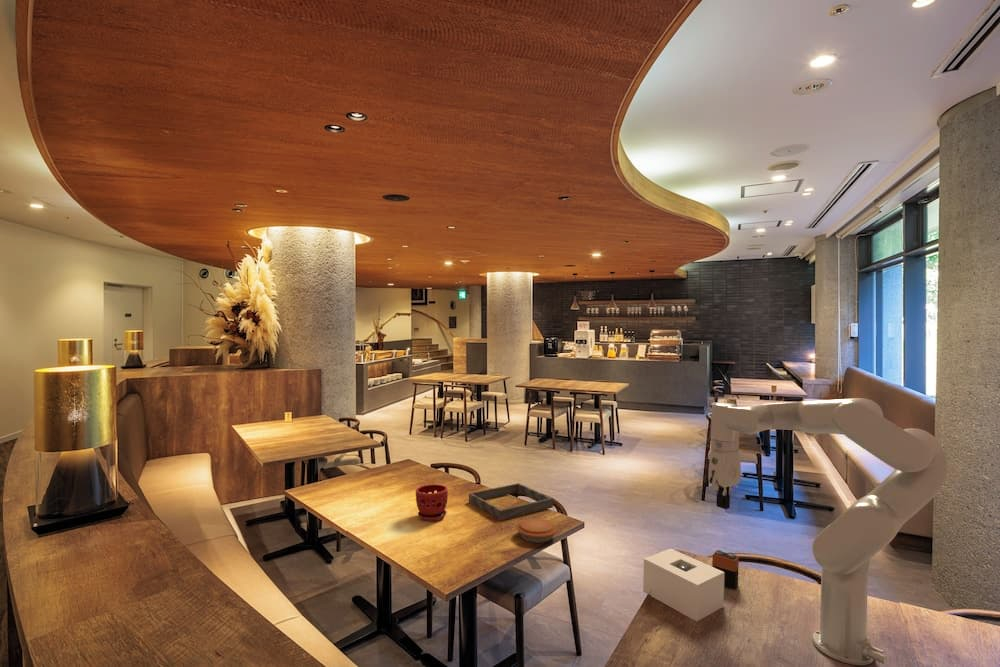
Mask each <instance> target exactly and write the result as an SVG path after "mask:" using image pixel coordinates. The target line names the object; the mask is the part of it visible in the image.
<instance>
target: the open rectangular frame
mask: <svg viewBox="0 0 1000 667" xmlns="http://www.w3.org/2000/svg"><path fill="white" fill-rule="evenodd" d="M516 493H517V494H518V493H519V494H521V495H523V496H525V497H527V498H529V499H531V500H534V501H533V502H529V503H523V504H521V505H520V504H519V505H515V506H512V507H507V508H503V509H501V508H499V507H497V506H495V505H493V504H492V503H490V502H488V501H486V500H489V499H495V498H499V497H505V496H508V495H512V494H516ZM468 503H469V504H471V505H473V506H474V507H476V508H478V509H480V510H482V511H483V512H484V513H487V514H488V515H490V516H492V517H493V518H495V519H497V520H499V521H500V522H501V521H505V520H509V519H513V518H517V517H521V516H526V515H529V514H533V513H537V512H541V511H545V510H549V509H552V508H554V507H553V504H554V498H552V497H550V496H549V495H546V494H544V493H541V492H540V491H537V490H535V489H532V488H531V487H528V486H527V485H526V486H525V485H524V484H521V483H519V482H518V483H513V484H508V485H505V486H499V487H494V488H493V487H492V488H488V489H484V490H479V491H475V492H469V493H468Z"/></svg>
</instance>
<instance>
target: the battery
mask: <svg viewBox="0 0 1000 667" xmlns="http://www.w3.org/2000/svg"><path fill="white" fill-rule="evenodd" d="M739 559H740V558H739V556H738V555H736V554H735V553H733V552H725V551H723V550H720V549H717V550H715V551H714V552H713V554H712V563H711V564H712V565H711V566H712V567H714V568H716V569H718V570H721V571H723V572H724V588H728V589H731V590H735V589H737V587H738V585H739V562H740V561H739Z"/></svg>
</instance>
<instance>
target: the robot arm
mask: <svg viewBox="0 0 1000 667" xmlns="http://www.w3.org/2000/svg"><path fill="white" fill-rule="evenodd" d="M710 410H711V414H710V416H711V419H710V420H711V421H710V422H711V423H710V455H709V461H708V483H709V484H711V488H710V489H711V490H713V491H715V494H716V507H718V508H721V509H724V510H728V509H730V504H731V494H732V488H733V486H735V485H737V484H739V483H740V482H741V480H742V477H741V476H742V475H741V474H742V472H741V470H742V468H741V467H742V466H741V455H740V451H739V445H740V443H739V442H740V441H739V440H740V433H741V434H745V435H754V434H757V433H761V432H763V431H767V430H770V431H771V430H797V431H801V432H804V433H806V434H809V435H813V434H814V435H817V434H818V435H819V434H820V435H822V434H823V435H824V434H842V435H844V436H845V437H846V438H848V439H849V440H850V441H852V442H854V444H856V445H857V446H859V447H861V448H862V449H864V450H865V451H866V452H868V453H869V454H871V456H874V457H875V458H876V459H878V460H880V461H881V462H883V463H884V464H886V465H887V466H889V467H891V468H893V469H894V470H893V471H892V472H891V473H890V474H888V476H887V477H885V478H884V480H882V482H880V483H879V484H878V485H877V486H876V487H875V488H873V489H872V490H871V491H870V492H868V493H867V494H866V495H865V496H863V497H860V498H859V499H857V500H856V501H855V502H853V503H852V505H851V506H849V507H848V508H847V509H846V510H845V511H844V512H843V513H841V514H840V515H839V516H838V517H837V518H835V520H833V521H832V522H831V523H830V524H828V525H827V526H826V527H825V528H823V530H821V531H820V533H818V534H817V535H816V537H815V538H814V540H812V546H811V550H812V554H813V557H814V559H815V561H816V563H817V564H818V565H819V566H820V567H821V575H820V576H821V579H820V580H821V582H820V584H821V585H820V612H819V629H818V630H814V632H812V634H811V635H812V636H811V637H812V643H813V644H814V646H815V647H816V648H817V649H818V650H819V651H820V652H822V653H823V654H824V655H826V656H828V657H830V658H832V659H834V660H836V661H839V662H840V663H841V662H842V663H845V664H848V665H854V666H868V665H869V664H872V663H873V662H874V660H875V661H876V662H878V663H880V664H883V665H884V666H885V665H886V664H887V659H888V658H887V655H885V650H883V649H881V648H879V647H876V646H873V644H872V643H871V642H872V640H871V638H872V637H870V636H867V622H868V620H867V618H868V617H867V616H868V614H867V613H868V594H869V593H868V592H869V572H870V565H871V564H870V563H871V559H872V558H873V557H874V556H875V555H876V554H877V553H879V552H880V551H882V549H884V548H885V547H887V545H888V544H890V543H891V542H892V541H893V539H894V538H895V537H896V536H897V534H898V533H899V531H900V530H901V528H902V526H903V525H905V523H907V522H908V521H909V520H910V519H911V518H912V517H914V515H916V514H918V512H919V511H920V510H922V509H923V507H925V506H926V505H927V504H928V503H929V502H930V501H932V499H934V498H935V496H936V495H938V494H939V492H940V491H941V489H942V487H943V486H944V484H945V481H946V478H947V474H948V458H947V456H946V454H945V453H946V452H945V450H944V449H943V448H944V447H943V446H942V445H941V443H940V441H939V440H938V439H937V438H936V437H935V436H934V435H933V434H931V433H930V432H928V431H927V430H924V429H921V428H914V427H913V428H911V427H910V428H909V427H908V428H902V427H900V426H898V425H897V424H895V423H893V422H891V421H890V420H888V419H887V418H886V417H884V413H883V412H884V411H883V410H882V408H881V406H880V405H879V404H878V403H877V402H875V401H874V400H872V399H868V398H863V397H862V398H861V397H855V398H853V397H852V398H838V399H837V398H836V399H834V398H833V399H821V400H820V399H819V400H804V401H803V400H801V401H795V402H792V401H791V402H776V403H775V402H774V403H761V404H760V403H758V404H753V405H748V406H744V407H739V406H738V405H737V404H735V403H728V402H716V403H713V404H712V406H711V409H710Z"/></svg>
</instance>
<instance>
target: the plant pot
mask: <svg viewBox="0 0 1000 667" xmlns="http://www.w3.org/2000/svg"><path fill="white" fill-rule="evenodd" d="M448 490H449V489H448V487H447V486H446V485H443V484H436V483H435V484H425V485H422V486H421V485H420V486H418V487H417V488H416V489H415V501H416V507H417V509H418V513H417V515H418V518H419V519H421V520H422V521H427V522H428V521H429V522H436V521H440V520H443V519H444V518H445V517H446V515H447V511H446V507H447V504H448V496H449V495H448V492H449V491H448Z"/></svg>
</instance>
